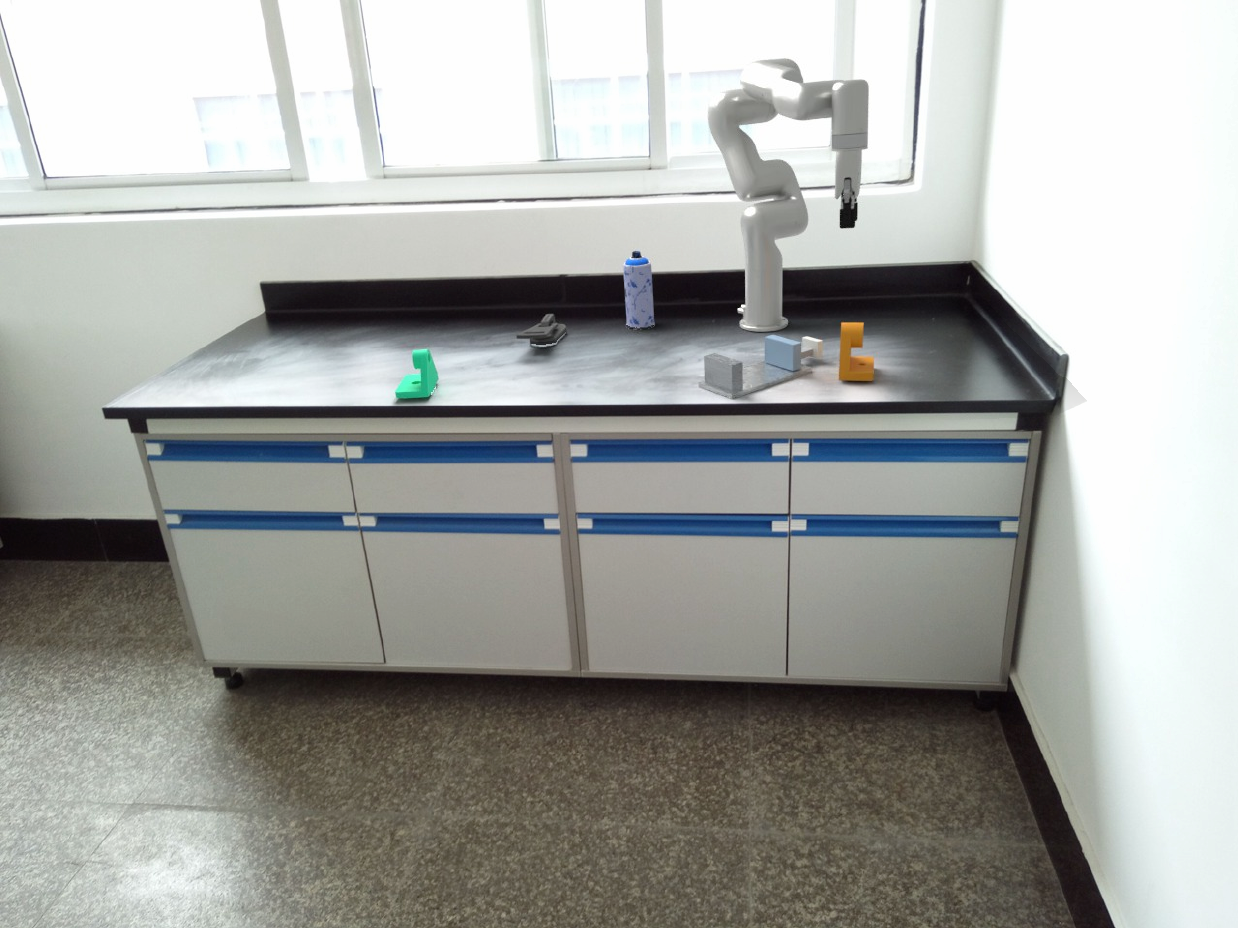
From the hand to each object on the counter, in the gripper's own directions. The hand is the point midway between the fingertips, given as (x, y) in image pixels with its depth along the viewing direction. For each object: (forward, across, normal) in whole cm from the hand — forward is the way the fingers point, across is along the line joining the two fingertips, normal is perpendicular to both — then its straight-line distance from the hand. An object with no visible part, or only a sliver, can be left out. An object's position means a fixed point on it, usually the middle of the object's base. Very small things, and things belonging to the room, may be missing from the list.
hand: (848, 224), depth 200 cm
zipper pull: (+28, -4, -77) cm, 82 cm away
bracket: (+31, +12, +3) cm, 34 cm away
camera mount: (+29, +33, -94) cm, 104 cm away
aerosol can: (+28, -23, -56) cm, 67 cm away
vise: (+30, +17, -19) cm, 39 cm away
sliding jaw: (+29, +7, -11) cm, 32 cm away
